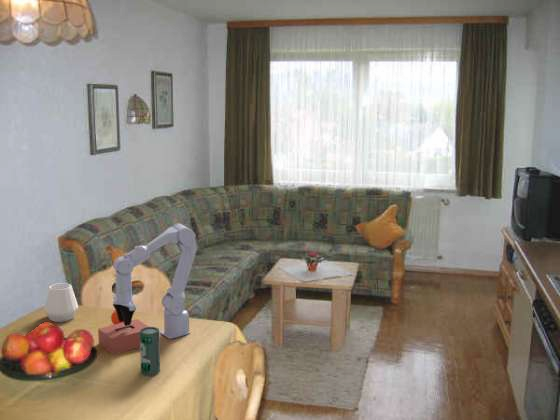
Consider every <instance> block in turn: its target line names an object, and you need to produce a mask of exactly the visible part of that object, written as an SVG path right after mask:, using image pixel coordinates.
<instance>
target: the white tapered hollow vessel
mask: <svg viewBox="0 0 560 420" xmlns="http://www.w3.org/2000/svg"><path fill="white" fill-rule="evenodd" d="M43 308H44V310H43V311H44V313H45V315H46V316H47V317H48V318H49V320H50V321H52V322H56V323H62V322H66V321H70V320H72V319H74V317H75V315H76V313H77V312H78V309H79V303H78V301H77V298H76V296H75V292H74V289H73V285H71V283H67V282H61V283H60V282H59V283H53V284H51V285H50V286H49V287H48V290H47V294H46V299H45V303H44V307H43Z"/></svg>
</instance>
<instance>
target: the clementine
mask: <svg viewBox="0 0 560 420" xmlns="http://www.w3.org/2000/svg"><path fill="white" fill-rule="evenodd" d="M110 319H111V322H112V325H115V324H119V323H123V322H124V321H123V322H119V319H118V315H117V312H116V310H115V309H114V311H113V312H112V314H111V316H110Z"/></svg>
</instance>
